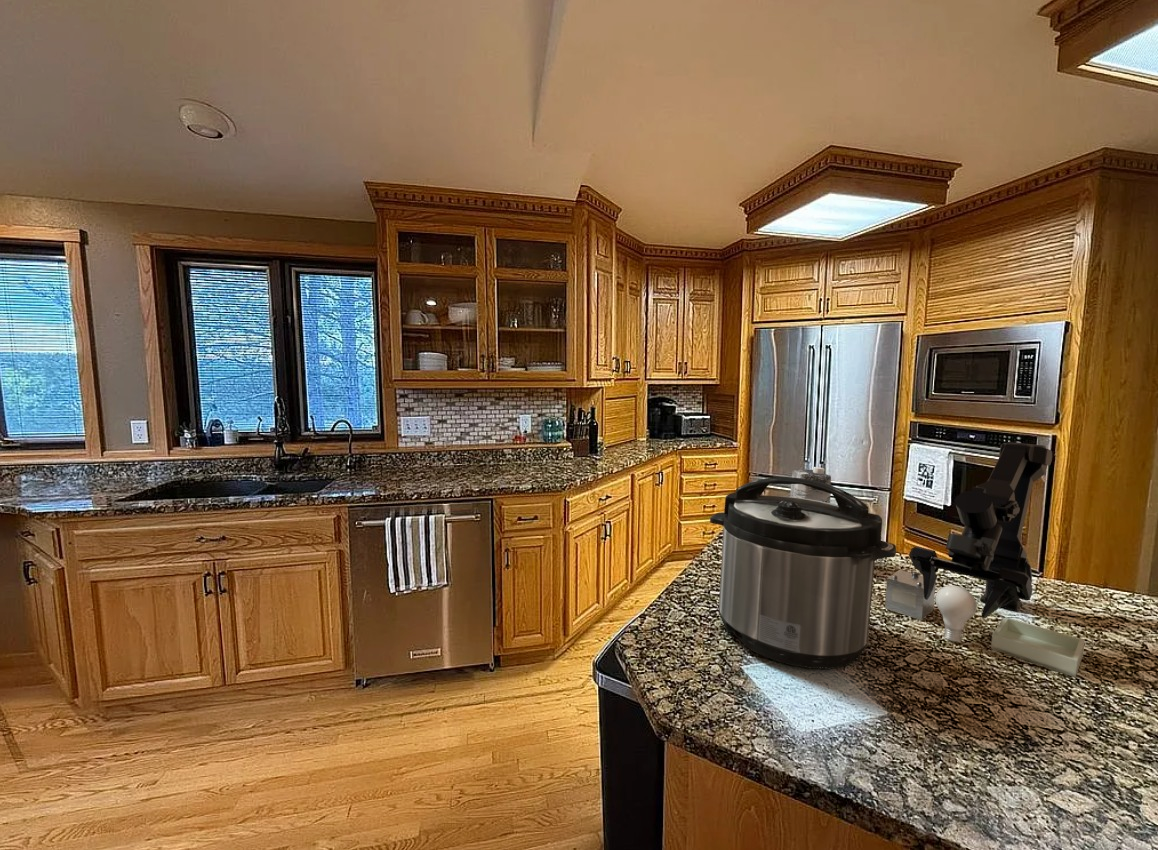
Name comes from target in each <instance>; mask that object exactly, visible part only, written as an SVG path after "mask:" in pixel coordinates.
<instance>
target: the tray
mask: <svg viewBox="0 0 1158 850" xmlns="http://www.w3.org/2000/svg"><path fill="white" fill-rule="evenodd" d="M991 636H992V637H991V645H990V649H991V650H993V651H997V652H999V653H1002V654H1004V655H1007V656H1011V657H1013V658H1016V659H1020V660H1023V661H1026V662H1029V663H1031V664H1035V665H1037V666H1041V667H1044V668H1046V669H1049V670H1053V671H1055V672H1057V673H1061V674H1064V675H1067V676H1070V677H1072V678H1076V677H1077V674H1078V671H1079V668H1080V665H1081V663H1082V660H1083V657H1084V653H1085V652H1084V651H1085V642H1086V640H1085V639H1082V638H1079V637H1076V636H1073V635H1069V634H1066V633H1063V632H1060V631H1059V632H1058V631H1055V630H1053V629H1048V628H1045V627H1042V626H1039V625H1034V624H1032V623H1029V622H1028V623H1027V622H1024V621H1022V620H1021V621H1020V620H1018V619H1015V618H1011V617H1007V616H1005V617H1004V618H1003V620H1002V621H1001V622H1000V624H998V625H997V627H996V629H994V632H993V633H992V635H991Z"/></svg>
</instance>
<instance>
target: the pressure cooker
mask: <svg viewBox="0 0 1158 850" xmlns="http://www.w3.org/2000/svg"><path fill="white" fill-rule="evenodd" d="M791 484H802V485H805V486H808V487H811V488H815V489H818V490H821V491H824V492H827V493H830V494H831V496H833V497H834V499H835V502H836V504H834V503H831V502H830V503H826V502H822V501H817V500H811V499H804V498H797V497H790V496H785V495H784V496H781V495H768V494H767V495H762V494H763V493H764V492H765V491H766V489H767V488H768V486H769V485H791ZM869 511H870V510H869V506H868V505H867V504H866V503H865V502H864V501H862V500H860V499H859V497H856V496H855V495H853V494H851V493H849V492H848V491H845V490H843V489H841V488H839V487H836V486H833V485H832V484H831V485H828V484H825V483H822V482H818V481H813V480H808V479H802V478H793V477H792V476H778V477H777V476H775V477H767V478H766V477H765V478H762V479H757V480H753V481H750V482H748V483H744V484H743V485H741V486H739V487H737V488H736V489H735V492H732V493H728V494H727V495H725V499H724V511H723V512H721V511H720V512H717V513H715V514H713V515H712V516H710V517H709V523H710V524H713V525H719V526H721V527H722V550H721V565H720V580H719V581H720V582H719V602H718V610H719V612H718V613H719V617H720V619H721V622H722V624H723V626H724V628H725V630H726V632H727V633H733V635H734V636H735V637H736V638H737V639H739V640H740V642H741V643H742V644H743V645H744V646H745V647H746V648H747V649H748V650H751V651H752V652H754V653H756V654H758V655H760V656H762V657H764V658H767V659H770V660H772V661H774V662H775V661H776V662H779V663H783V664H785V665H790V666H795V667H800V668H801V667H803V668H808V669H809V668H810V669H834V668H839V667H845V666H847V665H849V664H852V663H854V662H855V661H856V660H858V659H859V658H860V657H861V655H862V654H863V652H864V651H865V649H866V647H867V645H868V641H869V634H870V632H869V631H870V624H871V623H870V621H871V620H870V619H871V611H872V609H871V608H872V596H873V588H874V587H873V585H874V574H875V573H874V572H875V565H876V563H875V562H876V561H878V560H881V559H882V560H883V559H885V558H886V559H887V558H894V557H896V556H897V555H896V554H897V545H896V544H894V543H892V542H888V541H885V540H882V530H883V529H882V528H883V518H882V517H881V515H879V514H877V513H870V512H869Z"/></svg>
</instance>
